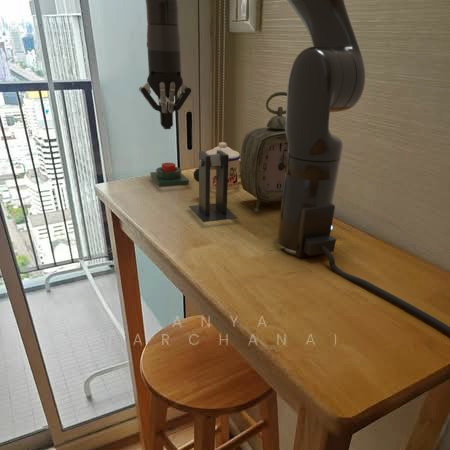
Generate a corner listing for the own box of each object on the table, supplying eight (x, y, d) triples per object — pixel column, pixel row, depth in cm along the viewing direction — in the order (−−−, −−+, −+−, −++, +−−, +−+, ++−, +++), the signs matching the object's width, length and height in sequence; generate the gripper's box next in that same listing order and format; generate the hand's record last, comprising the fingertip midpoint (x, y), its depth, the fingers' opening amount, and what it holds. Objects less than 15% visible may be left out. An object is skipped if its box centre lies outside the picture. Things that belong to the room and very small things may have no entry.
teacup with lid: (211, 195, 104) (212, 147, 98) (200, 184, 112) (200, 139, 105) (253, 191, 108) (257, 145, 102) (240, 181, 115) (242, 138, 109)
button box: (188, 188, 108) (188, 173, 106) (159, 191, 106) (158, 175, 104) (178, 178, 116) (178, 163, 114) (150, 180, 114) (149, 165, 111)
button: (177, 172, 108) (177, 165, 107) (163, 173, 107) (163, 166, 106) (173, 168, 111) (173, 162, 110) (160, 169, 110) (160, 163, 109)
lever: (193, 184, 96) (190, 170, 96) (205, 183, 97) (203, 169, 97) (209, 168, 84) (207, 152, 83) (224, 167, 85) (221, 151, 84)
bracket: (188, 210, 94) (187, 148, 87) (221, 207, 97) (222, 146, 90) (203, 226, 87) (203, 160, 79) (237, 222, 89) (240, 157, 82)
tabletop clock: (251, 218, 91) (260, 94, 78) (234, 205, 98) (239, 89, 85) (306, 211, 97) (322, 93, 83) (286, 199, 104) (298, 89, 90)
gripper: (138, 48, 89) (144, 132, 98) (196, 50, 93) (196, 130, 103) (132, 47, 95) (138, 126, 104) (186, 48, 99) (187, 125, 109)
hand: (167, 128), depth 103 cm, fingers closed
